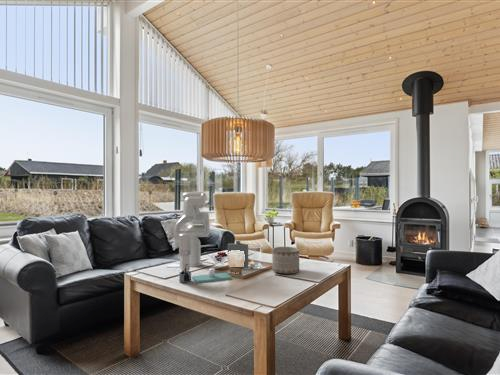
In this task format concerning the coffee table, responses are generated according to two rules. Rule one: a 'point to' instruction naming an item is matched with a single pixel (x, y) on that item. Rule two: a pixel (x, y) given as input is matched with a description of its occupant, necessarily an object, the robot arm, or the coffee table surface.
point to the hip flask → (242, 248)
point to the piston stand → (211, 277)
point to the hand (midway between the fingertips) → (185, 278)
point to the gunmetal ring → (181, 276)
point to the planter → (285, 260)
